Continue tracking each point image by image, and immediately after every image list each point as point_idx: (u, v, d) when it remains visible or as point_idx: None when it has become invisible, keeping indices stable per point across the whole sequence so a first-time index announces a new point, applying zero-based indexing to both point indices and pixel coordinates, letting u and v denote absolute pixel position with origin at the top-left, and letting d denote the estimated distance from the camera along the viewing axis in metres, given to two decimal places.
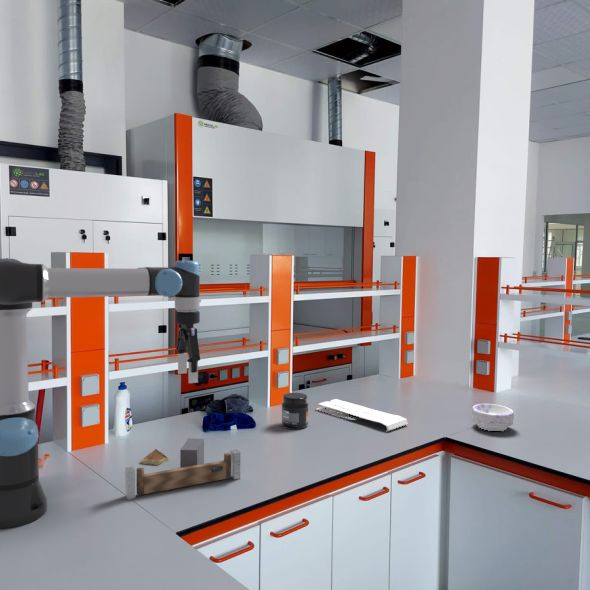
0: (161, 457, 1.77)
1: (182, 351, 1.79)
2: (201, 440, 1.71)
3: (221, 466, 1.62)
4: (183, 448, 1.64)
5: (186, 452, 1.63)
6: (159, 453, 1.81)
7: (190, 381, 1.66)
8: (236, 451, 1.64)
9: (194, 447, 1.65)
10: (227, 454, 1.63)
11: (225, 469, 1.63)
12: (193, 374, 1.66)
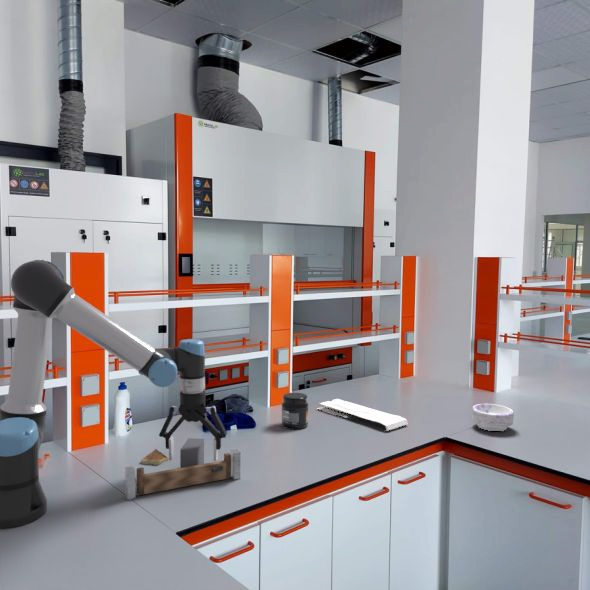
0: (161, 457, 1.77)
1: None
2: (201, 440, 1.71)
3: (221, 466, 1.62)
4: (183, 448, 1.64)
5: (186, 452, 1.63)
6: (159, 453, 1.81)
7: None
8: (236, 451, 1.64)
9: (194, 447, 1.65)
10: (227, 454, 1.63)
11: (225, 469, 1.63)
12: None
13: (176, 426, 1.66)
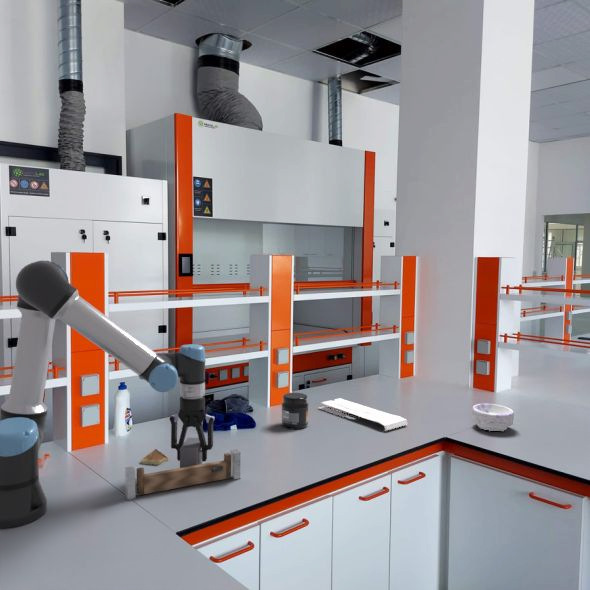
0: (161, 457, 1.77)
1: None
2: None
3: (221, 466, 1.62)
4: (183, 447, 1.64)
5: (186, 452, 1.63)
6: (159, 453, 1.81)
7: None
8: (236, 451, 1.64)
9: (194, 446, 1.65)
10: (227, 454, 1.63)
11: (225, 469, 1.63)
12: None
13: (182, 435, 1.66)
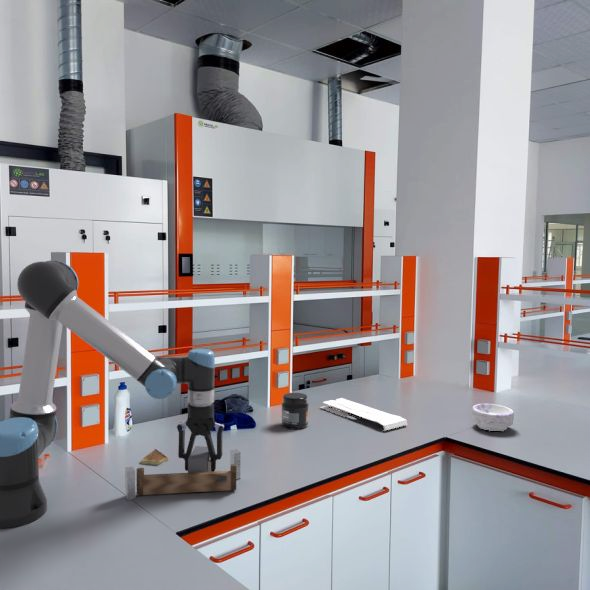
0: (161, 457, 1.77)
1: None
2: None
3: (225, 476, 1.54)
4: (191, 457, 1.56)
5: (194, 462, 1.55)
6: (159, 453, 1.81)
7: None
8: (236, 451, 1.64)
9: (202, 456, 1.58)
10: (233, 465, 1.55)
11: (230, 480, 1.55)
12: None
13: (190, 444, 1.59)
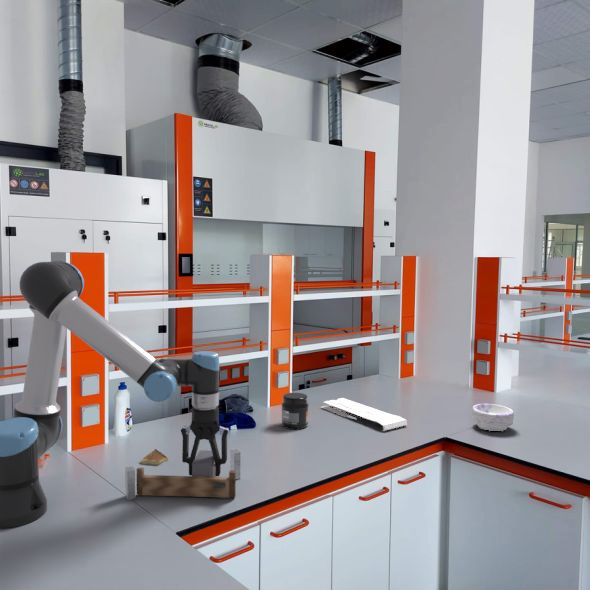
0: (161, 457, 1.77)
1: None
2: None
3: (223, 483, 1.50)
4: (195, 461, 1.53)
5: (198, 466, 1.52)
6: (159, 453, 1.81)
7: None
8: (236, 451, 1.64)
9: (207, 460, 1.54)
10: (232, 471, 1.51)
11: (228, 487, 1.50)
12: None
13: (195, 448, 1.56)
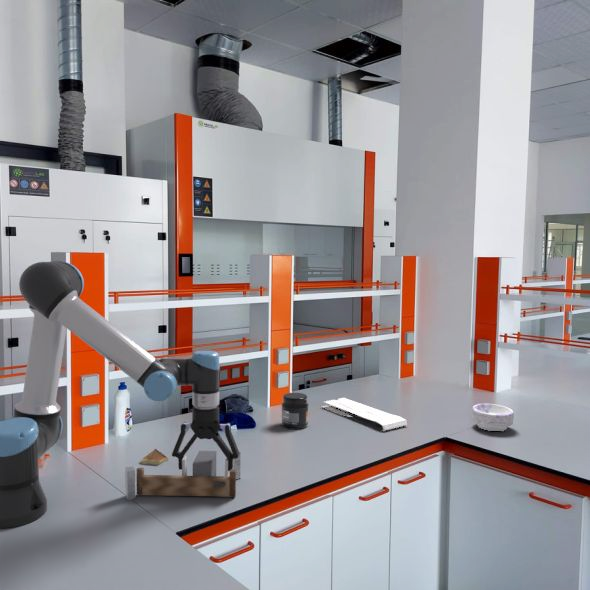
0: (161, 457, 1.77)
1: None
2: (213, 452, 1.61)
3: (223, 482, 1.51)
4: (195, 462, 1.53)
5: (199, 466, 1.52)
6: (159, 453, 1.81)
7: None
8: None
9: (207, 460, 1.55)
10: (232, 470, 1.51)
11: (228, 486, 1.51)
12: None
13: (189, 445, 1.55)
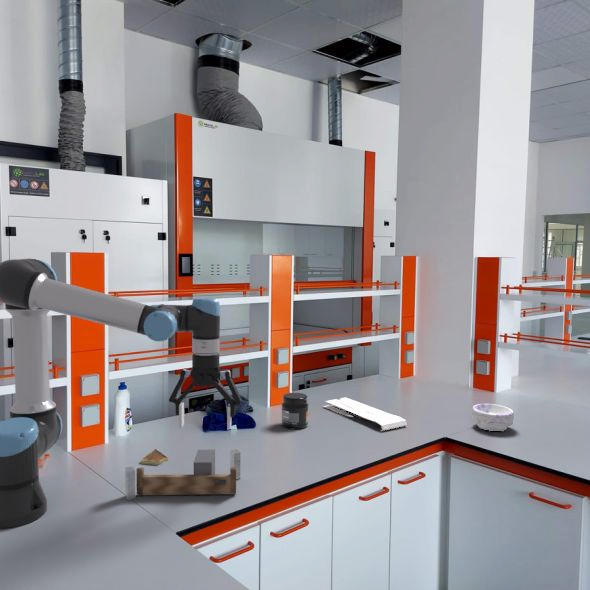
0: (161, 457, 1.77)
1: None
2: (212, 451, 1.62)
3: (224, 480, 1.52)
4: (196, 460, 1.54)
5: (200, 465, 1.53)
6: (159, 453, 1.81)
7: None
8: (236, 451, 1.64)
9: (208, 459, 1.56)
10: (233, 468, 1.53)
11: (229, 484, 1.53)
12: None
13: (187, 391, 1.54)
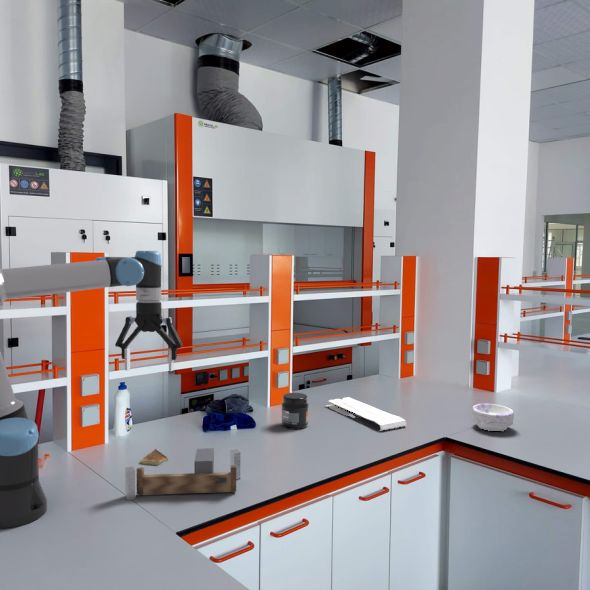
0: (161, 457, 1.77)
1: None
2: (212, 450, 1.63)
3: (225, 478, 1.53)
4: (197, 459, 1.55)
5: (201, 464, 1.54)
6: (159, 453, 1.81)
7: None
8: (236, 451, 1.64)
9: (208, 457, 1.57)
10: (233, 466, 1.54)
11: (230, 482, 1.54)
12: None
13: (132, 336, 1.68)
